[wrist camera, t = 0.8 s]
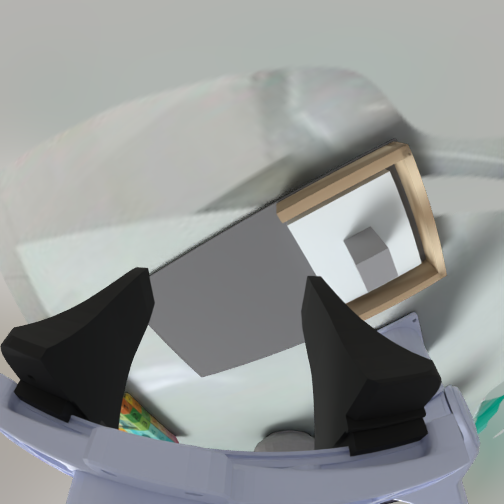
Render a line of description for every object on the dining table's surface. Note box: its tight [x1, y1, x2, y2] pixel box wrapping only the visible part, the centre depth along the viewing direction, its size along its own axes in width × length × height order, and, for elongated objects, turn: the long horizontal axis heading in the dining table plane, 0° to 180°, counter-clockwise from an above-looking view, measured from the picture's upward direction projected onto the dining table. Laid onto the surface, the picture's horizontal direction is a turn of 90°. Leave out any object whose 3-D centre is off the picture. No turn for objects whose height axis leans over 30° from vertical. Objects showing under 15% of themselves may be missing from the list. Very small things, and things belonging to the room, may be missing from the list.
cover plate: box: [287, 169, 421, 304], centre depth 19 cm, size 9×9×5 cm
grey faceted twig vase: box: [254, 431, 315, 452], centre depth 33 cm, size 21×12×15 cm, turn 121°
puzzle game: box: [119, 393, 179, 443], centre depth 38 cm, size 12×5×20 cm
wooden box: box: [276, 142, 447, 321], centre depth 20 cm, size 12×11×3 cm
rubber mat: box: [148, 139, 426, 377], centre depth 25 cm, size 14×30×1 cm, turn 122°
